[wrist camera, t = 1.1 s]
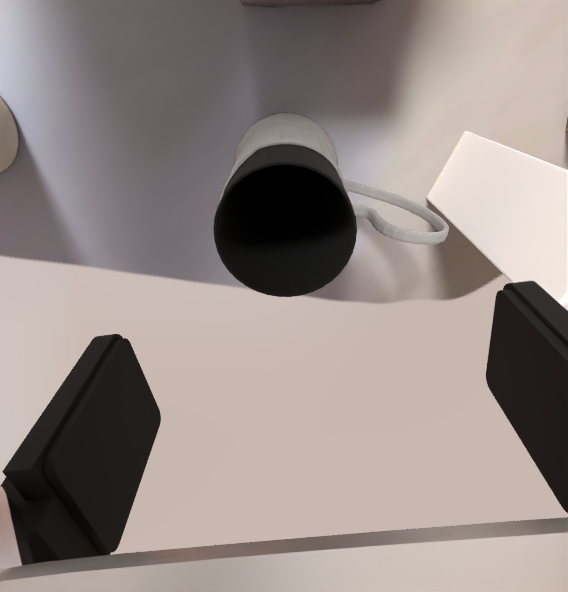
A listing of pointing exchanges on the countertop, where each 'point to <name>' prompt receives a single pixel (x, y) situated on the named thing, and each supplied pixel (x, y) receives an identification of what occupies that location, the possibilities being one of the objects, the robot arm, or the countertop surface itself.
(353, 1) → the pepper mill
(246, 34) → the countertop surface
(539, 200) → the milk
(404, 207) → the glass holder
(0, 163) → the travel mug
